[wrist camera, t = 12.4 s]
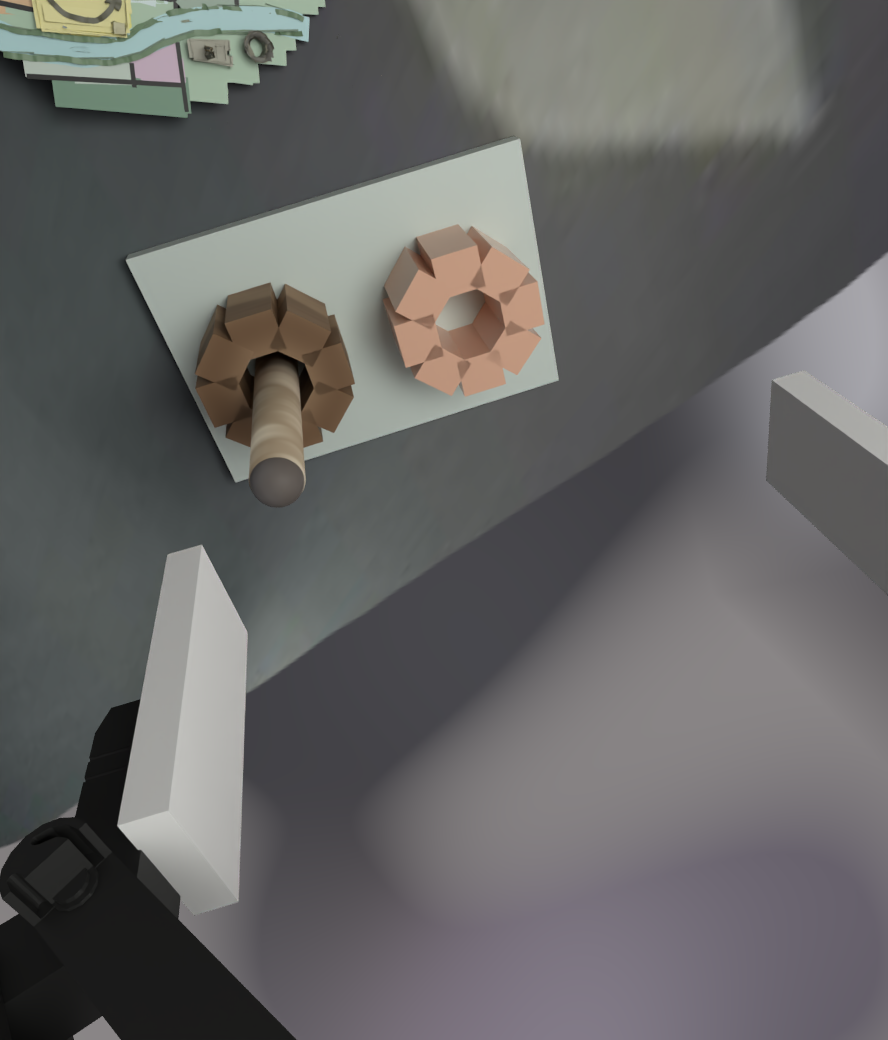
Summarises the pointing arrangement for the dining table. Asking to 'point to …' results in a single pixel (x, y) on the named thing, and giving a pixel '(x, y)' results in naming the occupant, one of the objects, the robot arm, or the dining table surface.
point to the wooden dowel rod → (276, 432)
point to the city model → (149, 48)
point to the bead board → (353, 282)
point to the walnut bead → (267, 329)
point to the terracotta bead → (494, 332)
